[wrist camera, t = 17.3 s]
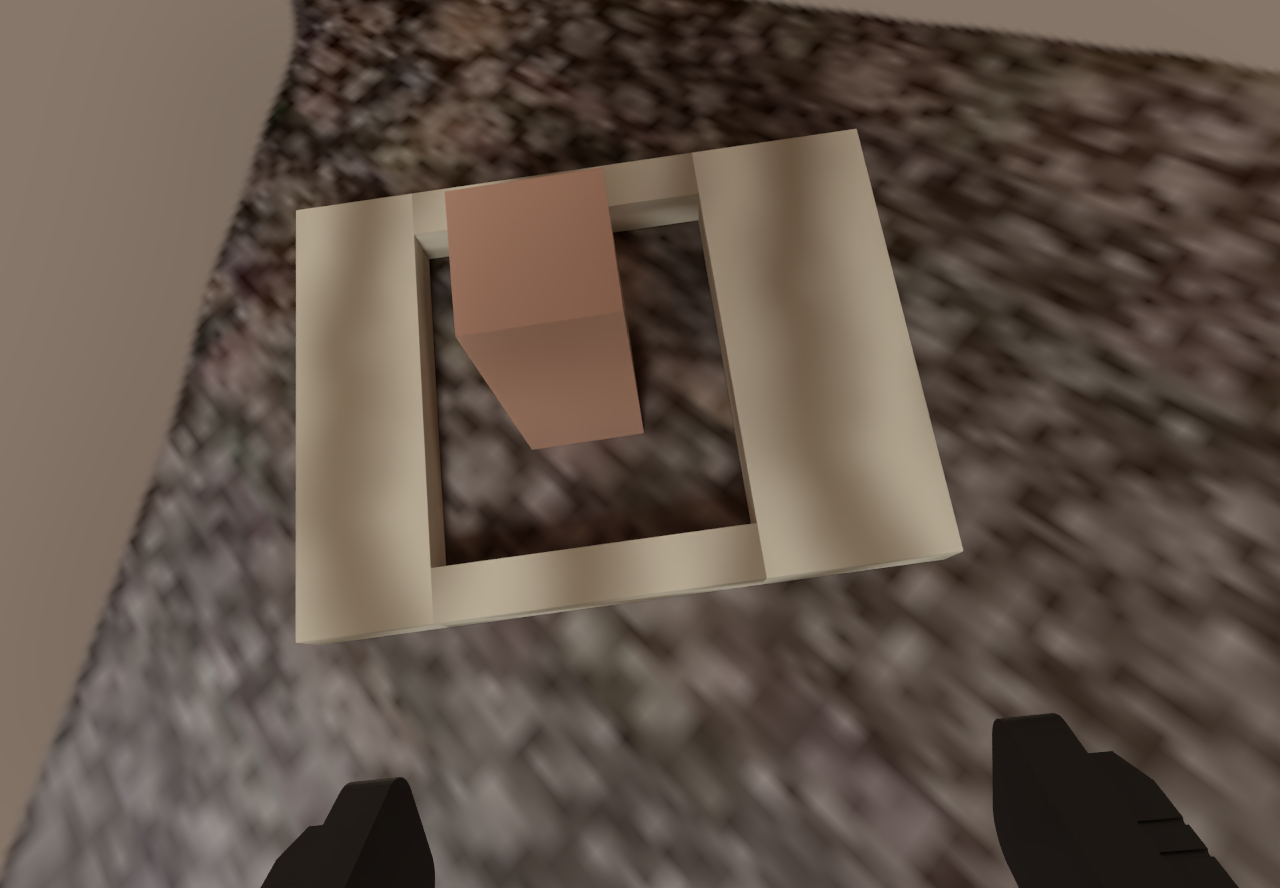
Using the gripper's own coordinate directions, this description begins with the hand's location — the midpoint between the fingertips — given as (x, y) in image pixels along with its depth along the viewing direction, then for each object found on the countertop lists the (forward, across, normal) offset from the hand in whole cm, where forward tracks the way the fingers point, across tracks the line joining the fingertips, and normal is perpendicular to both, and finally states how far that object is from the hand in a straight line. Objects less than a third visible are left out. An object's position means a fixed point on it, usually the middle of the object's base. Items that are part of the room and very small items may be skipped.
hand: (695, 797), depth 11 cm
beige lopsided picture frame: (+23, +3, 0) cm, 23 cm away
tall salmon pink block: (+22, +4, 0) cm, 23 cm away
